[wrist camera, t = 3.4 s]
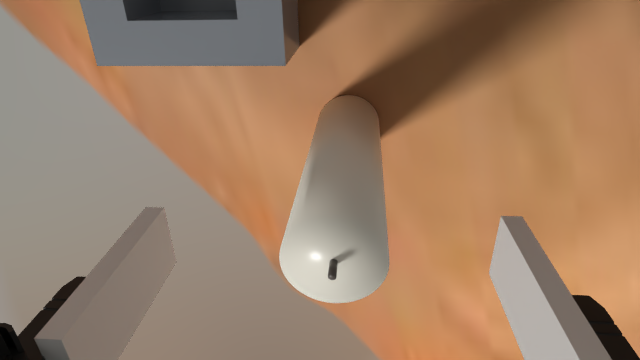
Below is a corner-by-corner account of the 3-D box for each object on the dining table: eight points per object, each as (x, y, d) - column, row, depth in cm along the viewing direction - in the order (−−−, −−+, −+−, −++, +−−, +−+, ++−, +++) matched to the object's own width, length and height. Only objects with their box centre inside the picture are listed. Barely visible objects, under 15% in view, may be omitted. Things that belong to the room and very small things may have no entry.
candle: (317, 94, 27) (270, 226, 14) (380, 95, 26) (394, 231, 13) (318, 152, 29) (279, 315, 16) (377, 153, 28) (387, 321, 15)
